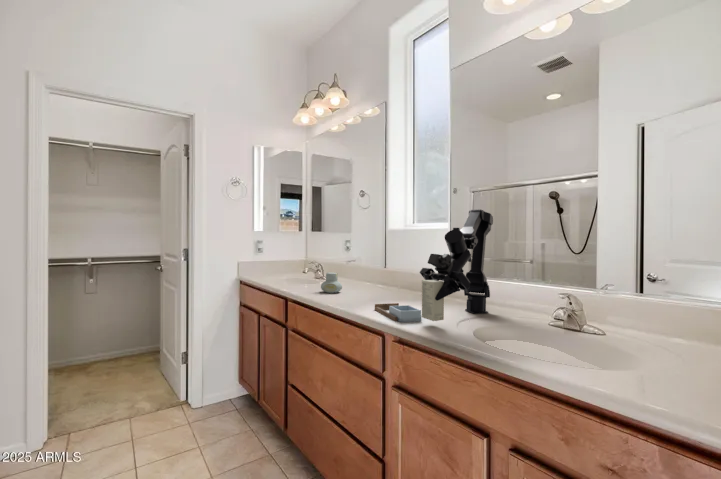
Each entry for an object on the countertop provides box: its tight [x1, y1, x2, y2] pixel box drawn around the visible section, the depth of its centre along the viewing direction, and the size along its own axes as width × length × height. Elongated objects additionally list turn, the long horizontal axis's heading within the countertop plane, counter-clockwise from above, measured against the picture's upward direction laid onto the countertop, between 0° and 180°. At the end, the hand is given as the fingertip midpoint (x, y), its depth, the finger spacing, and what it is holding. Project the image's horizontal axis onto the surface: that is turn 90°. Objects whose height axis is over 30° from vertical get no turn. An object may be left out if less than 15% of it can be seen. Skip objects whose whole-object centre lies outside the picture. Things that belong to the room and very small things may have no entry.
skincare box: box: [421, 279, 445, 322], centre depth 112 cm, size 6×4×12 cm
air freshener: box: [320, 272, 343, 294], centre depth 180 cm, size 11×8×10 cm
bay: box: [374, 302, 400, 322], centre depth 129 cm, size 10×20×2 cm, turn 18°
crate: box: [388, 304, 422, 323], centre depth 122 cm, size 8×10×4 cm
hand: (429, 297), depth 111 cm, fingers closed on skincare box, 6 cm apart
